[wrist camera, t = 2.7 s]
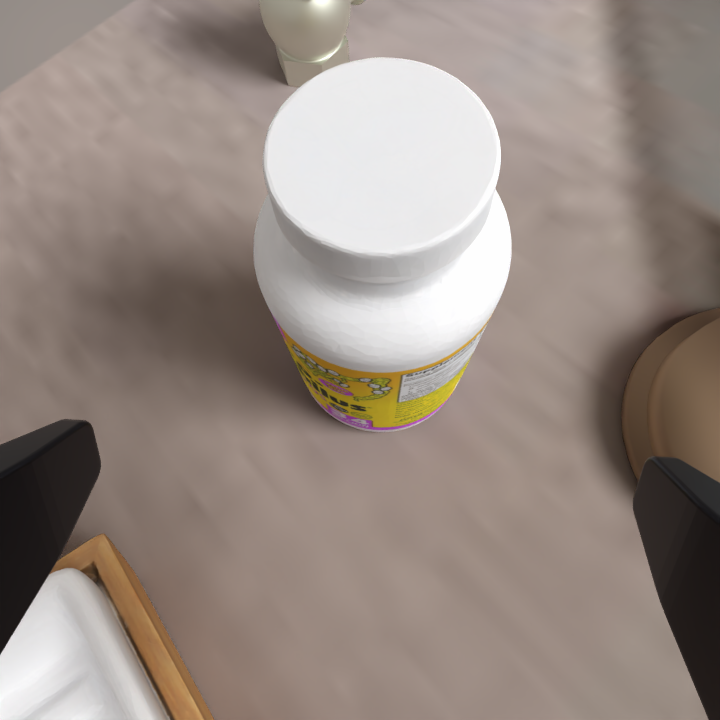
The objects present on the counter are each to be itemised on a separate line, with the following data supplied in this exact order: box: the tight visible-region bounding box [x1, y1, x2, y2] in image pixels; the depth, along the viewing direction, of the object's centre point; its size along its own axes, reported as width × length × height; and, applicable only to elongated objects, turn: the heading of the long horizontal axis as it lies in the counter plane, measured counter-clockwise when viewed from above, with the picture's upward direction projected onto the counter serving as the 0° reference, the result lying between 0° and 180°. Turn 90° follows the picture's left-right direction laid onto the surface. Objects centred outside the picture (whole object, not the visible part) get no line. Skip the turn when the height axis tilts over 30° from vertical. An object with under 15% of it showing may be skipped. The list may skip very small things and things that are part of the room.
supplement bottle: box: [253, 57, 511, 432], centre depth 17 cm, size 7×7×13 cm
